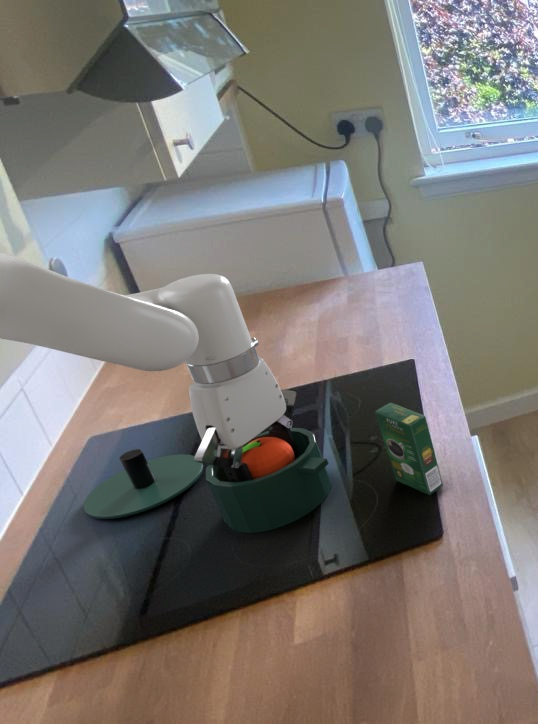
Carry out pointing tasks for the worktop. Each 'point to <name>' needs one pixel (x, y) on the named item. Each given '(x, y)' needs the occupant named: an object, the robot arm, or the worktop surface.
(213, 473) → the pot
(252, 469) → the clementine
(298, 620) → the worktop surface
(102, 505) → the lid
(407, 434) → the coffee box
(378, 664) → the worktop surface
